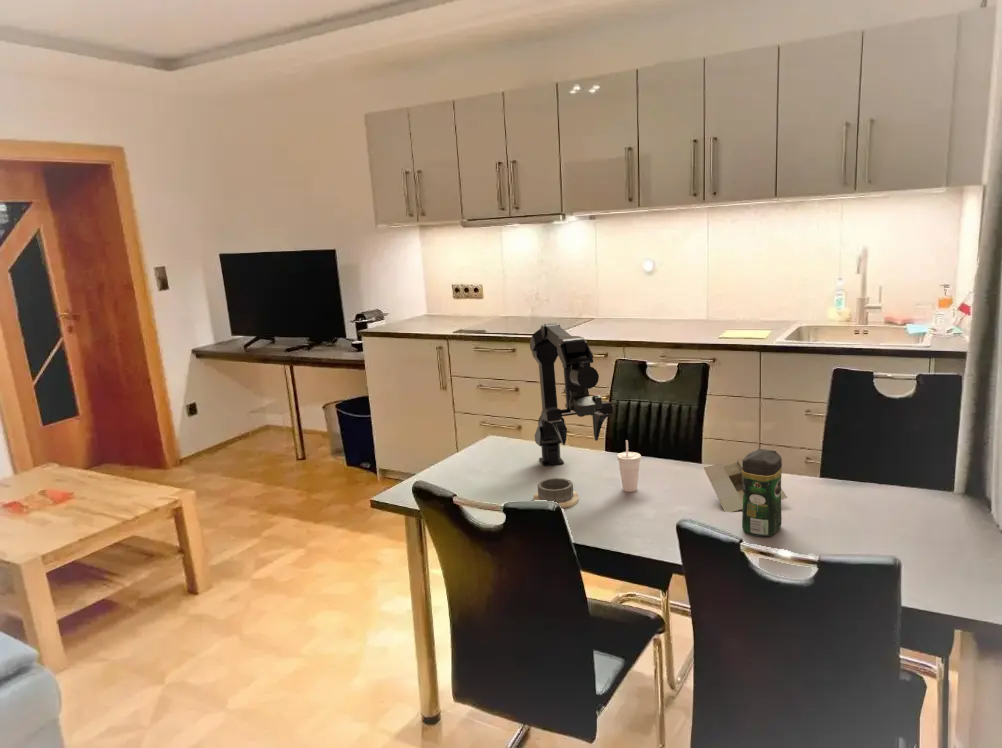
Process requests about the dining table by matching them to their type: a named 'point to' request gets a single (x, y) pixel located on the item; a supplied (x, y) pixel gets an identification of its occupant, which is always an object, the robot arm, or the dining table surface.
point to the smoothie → (629, 469)
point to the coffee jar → (762, 492)
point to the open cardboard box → (729, 485)
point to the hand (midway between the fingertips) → (580, 442)
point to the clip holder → (557, 492)
